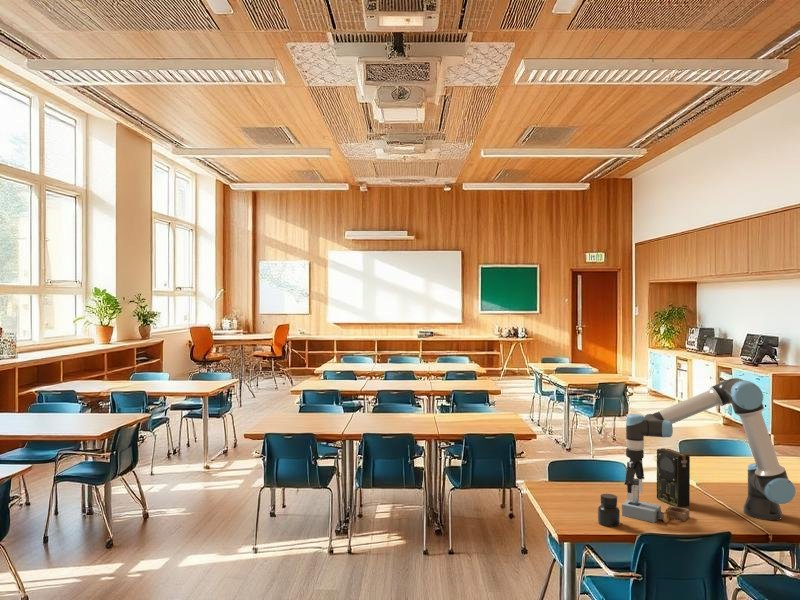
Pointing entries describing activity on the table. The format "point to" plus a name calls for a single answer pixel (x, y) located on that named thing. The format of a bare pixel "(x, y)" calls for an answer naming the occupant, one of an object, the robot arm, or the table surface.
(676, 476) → the black hard drive
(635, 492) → the drill peg
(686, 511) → the rack
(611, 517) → the ink bottle
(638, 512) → the socket block
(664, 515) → the drift key
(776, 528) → the table surface
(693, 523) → the table surface
